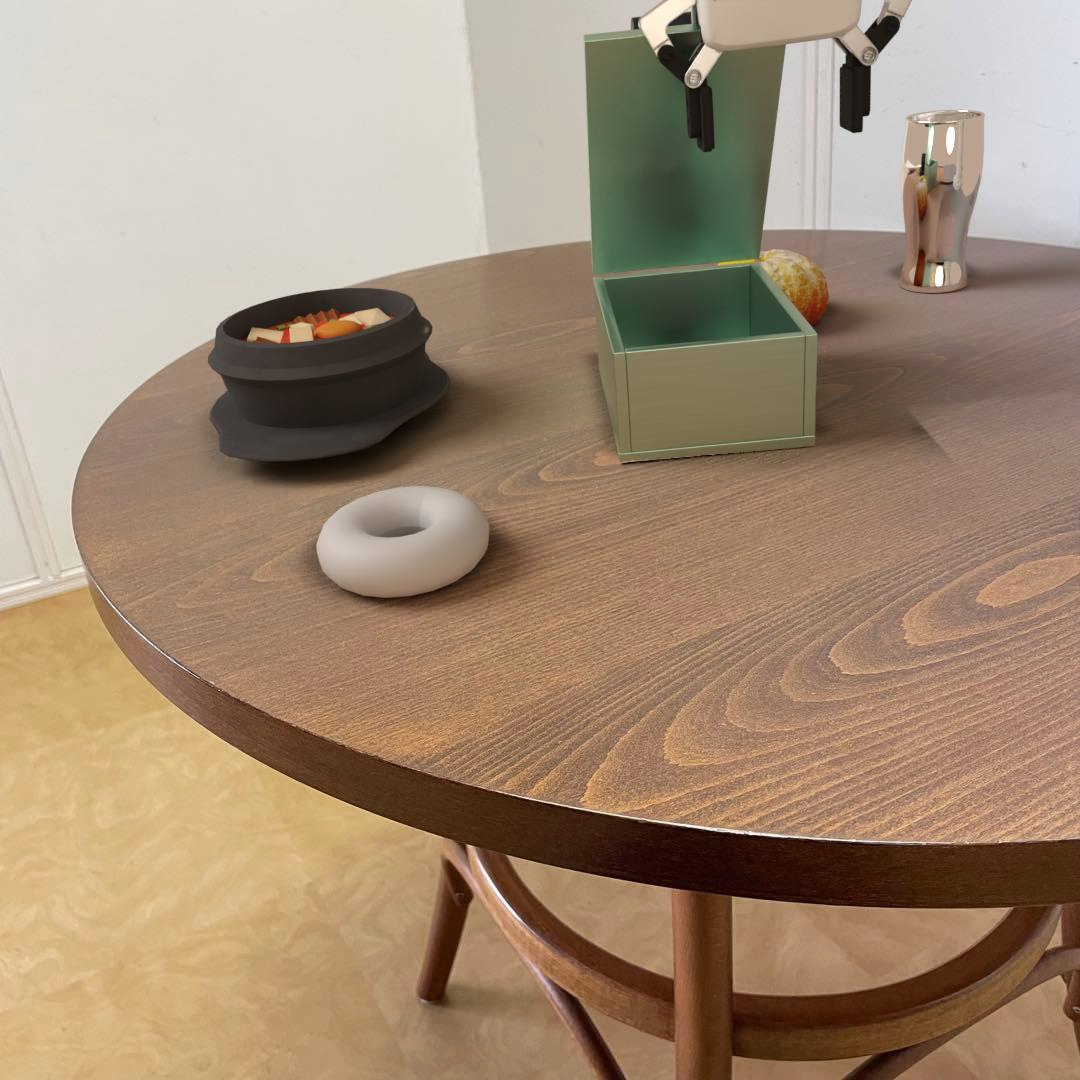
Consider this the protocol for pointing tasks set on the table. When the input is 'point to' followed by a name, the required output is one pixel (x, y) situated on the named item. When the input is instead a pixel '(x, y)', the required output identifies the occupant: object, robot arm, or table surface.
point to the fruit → (796, 281)
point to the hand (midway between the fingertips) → (778, 139)
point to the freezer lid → (676, 153)
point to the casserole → (321, 373)
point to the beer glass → (939, 196)
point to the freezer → (704, 362)
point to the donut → (403, 541)
